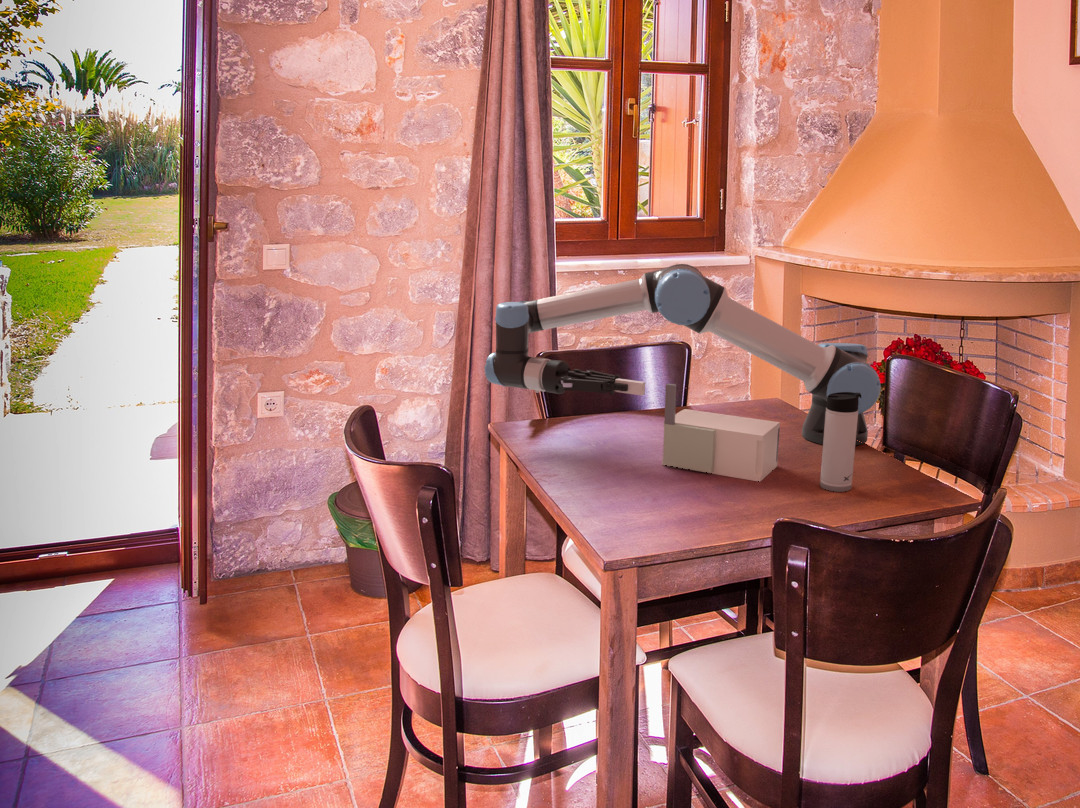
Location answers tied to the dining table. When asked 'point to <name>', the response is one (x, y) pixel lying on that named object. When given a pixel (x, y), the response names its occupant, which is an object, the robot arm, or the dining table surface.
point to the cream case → (738, 443)
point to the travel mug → (839, 441)
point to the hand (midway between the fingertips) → (643, 388)
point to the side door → (685, 440)
